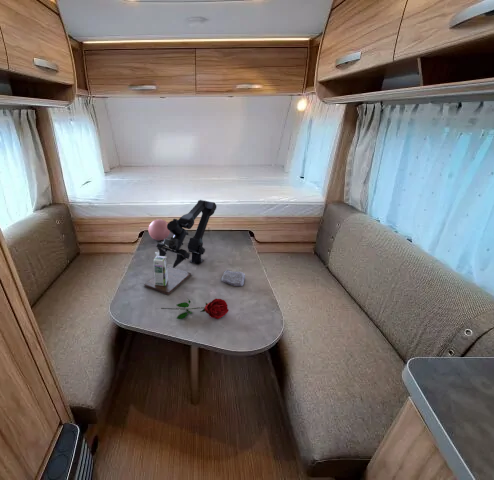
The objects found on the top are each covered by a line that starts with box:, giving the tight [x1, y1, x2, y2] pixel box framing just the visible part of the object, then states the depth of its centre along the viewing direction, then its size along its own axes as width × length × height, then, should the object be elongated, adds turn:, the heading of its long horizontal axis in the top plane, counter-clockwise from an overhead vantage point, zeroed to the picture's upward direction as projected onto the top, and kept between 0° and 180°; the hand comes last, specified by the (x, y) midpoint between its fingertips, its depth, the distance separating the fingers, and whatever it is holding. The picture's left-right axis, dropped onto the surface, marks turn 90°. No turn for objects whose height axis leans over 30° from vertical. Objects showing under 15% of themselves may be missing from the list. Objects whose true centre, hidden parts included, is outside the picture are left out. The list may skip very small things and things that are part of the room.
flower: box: [160, 297, 230, 320], centre depth 115 cm, size 9×10×30 cm
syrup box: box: [153, 255, 168, 286], centre depth 135 cm, size 6×6×14 cm
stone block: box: [221, 269, 246, 287], centre depth 142 cm, size 12×5×10 cm
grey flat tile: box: [144, 266, 192, 296], centre depth 143 cm, size 22×15×2 cm
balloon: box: [147, 218, 171, 242], centre depth 194 cm, size 15×20×15 cm
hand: (166, 265), depth 137 cm, fingers open, 9 cm apart
